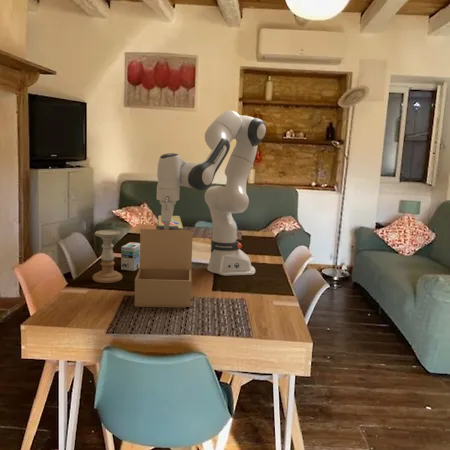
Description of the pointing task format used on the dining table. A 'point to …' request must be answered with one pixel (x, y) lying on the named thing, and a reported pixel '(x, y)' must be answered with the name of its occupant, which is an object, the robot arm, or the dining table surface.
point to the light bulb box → (130, 256)
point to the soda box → (172, 222)
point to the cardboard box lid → (166, 248)
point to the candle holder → (107, 258)
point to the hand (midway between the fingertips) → (166, 230)
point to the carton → (163, 287)
